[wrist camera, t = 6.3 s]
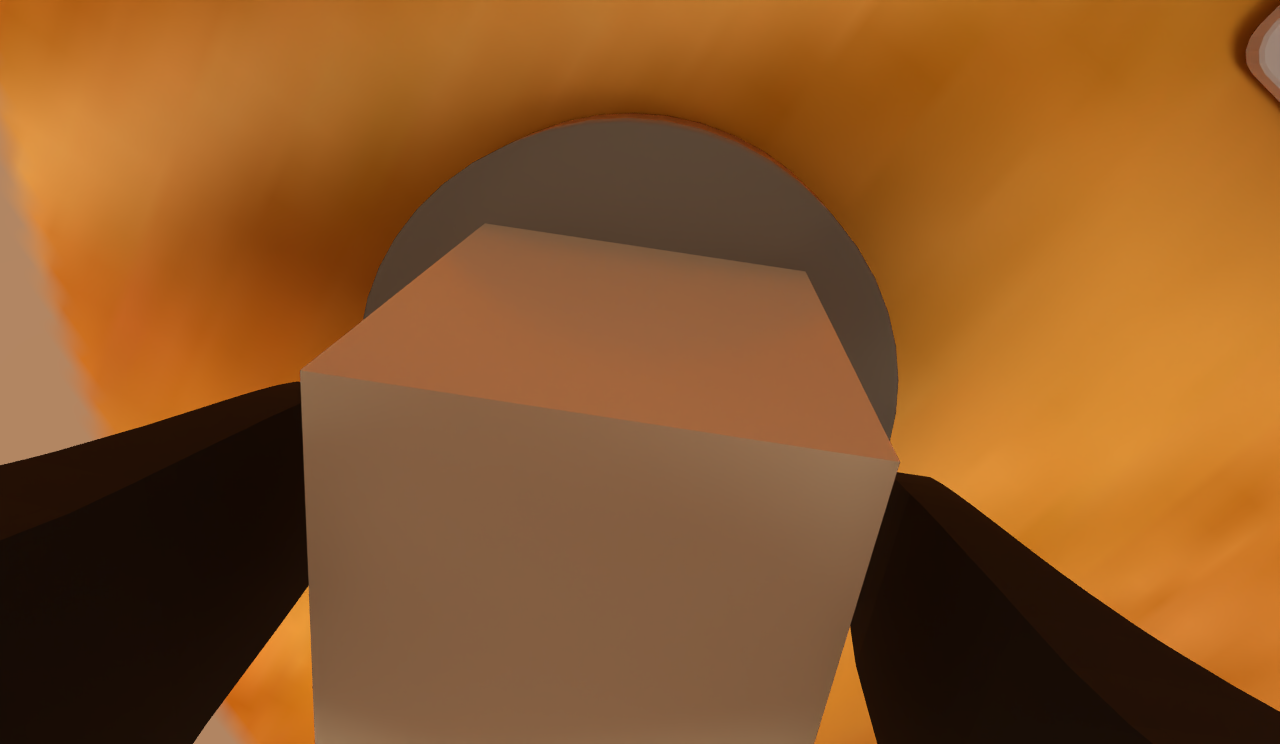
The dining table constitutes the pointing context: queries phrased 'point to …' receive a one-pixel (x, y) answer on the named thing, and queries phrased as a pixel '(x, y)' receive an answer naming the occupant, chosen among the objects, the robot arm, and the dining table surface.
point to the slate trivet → (660, 217)
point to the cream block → (586, 501)
